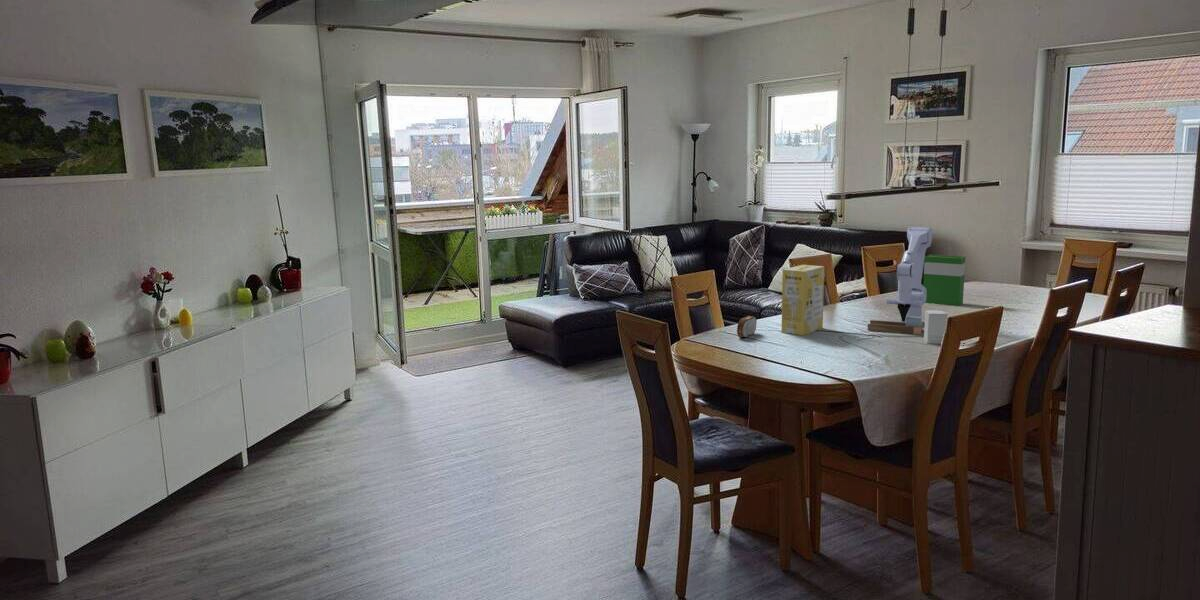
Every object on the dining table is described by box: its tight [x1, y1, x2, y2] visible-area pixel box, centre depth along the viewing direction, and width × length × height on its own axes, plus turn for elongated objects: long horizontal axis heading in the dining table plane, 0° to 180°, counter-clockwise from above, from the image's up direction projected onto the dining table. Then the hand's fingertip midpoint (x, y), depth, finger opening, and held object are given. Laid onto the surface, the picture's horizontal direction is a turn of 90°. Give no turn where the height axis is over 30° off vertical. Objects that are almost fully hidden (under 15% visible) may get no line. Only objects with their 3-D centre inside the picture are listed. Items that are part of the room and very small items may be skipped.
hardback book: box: [922, 254, 966, 307], centre depth 411 cm, size 18×7×24 cm, turn 52°
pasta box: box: [781, 264, 825, 336], centre depth 359 cm, size 18×10×28 cm, turn 138°
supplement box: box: [923, 309, 948, 345], centre depth 333 cm, size 7×7×13 cm
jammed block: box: [905, 316, 923, 327], centre depth 352 cm, size 6×6×6 cm
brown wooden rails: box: [867, 319, 924, 335], centre depth 356 cm, size 9×22×3 cm, turn 65°
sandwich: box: [736, 315, 758, 338], centre depth 352 cm, size 15×3×8 cm, turn 145°
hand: (903, 321), depth 354 cm, fingers closed
